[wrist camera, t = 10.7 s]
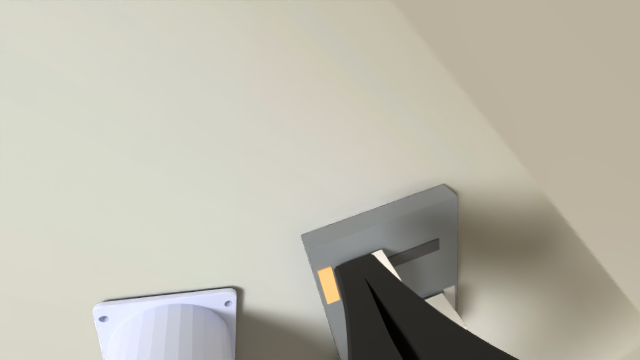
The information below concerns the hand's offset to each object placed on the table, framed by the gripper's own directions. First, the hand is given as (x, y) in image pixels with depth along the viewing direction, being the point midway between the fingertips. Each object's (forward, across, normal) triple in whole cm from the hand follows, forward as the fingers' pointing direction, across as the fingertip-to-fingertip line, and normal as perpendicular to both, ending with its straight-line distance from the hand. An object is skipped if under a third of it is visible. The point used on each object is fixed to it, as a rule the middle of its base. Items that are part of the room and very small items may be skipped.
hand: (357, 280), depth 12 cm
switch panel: (+9, -4, +15) cm, 18 cm away
